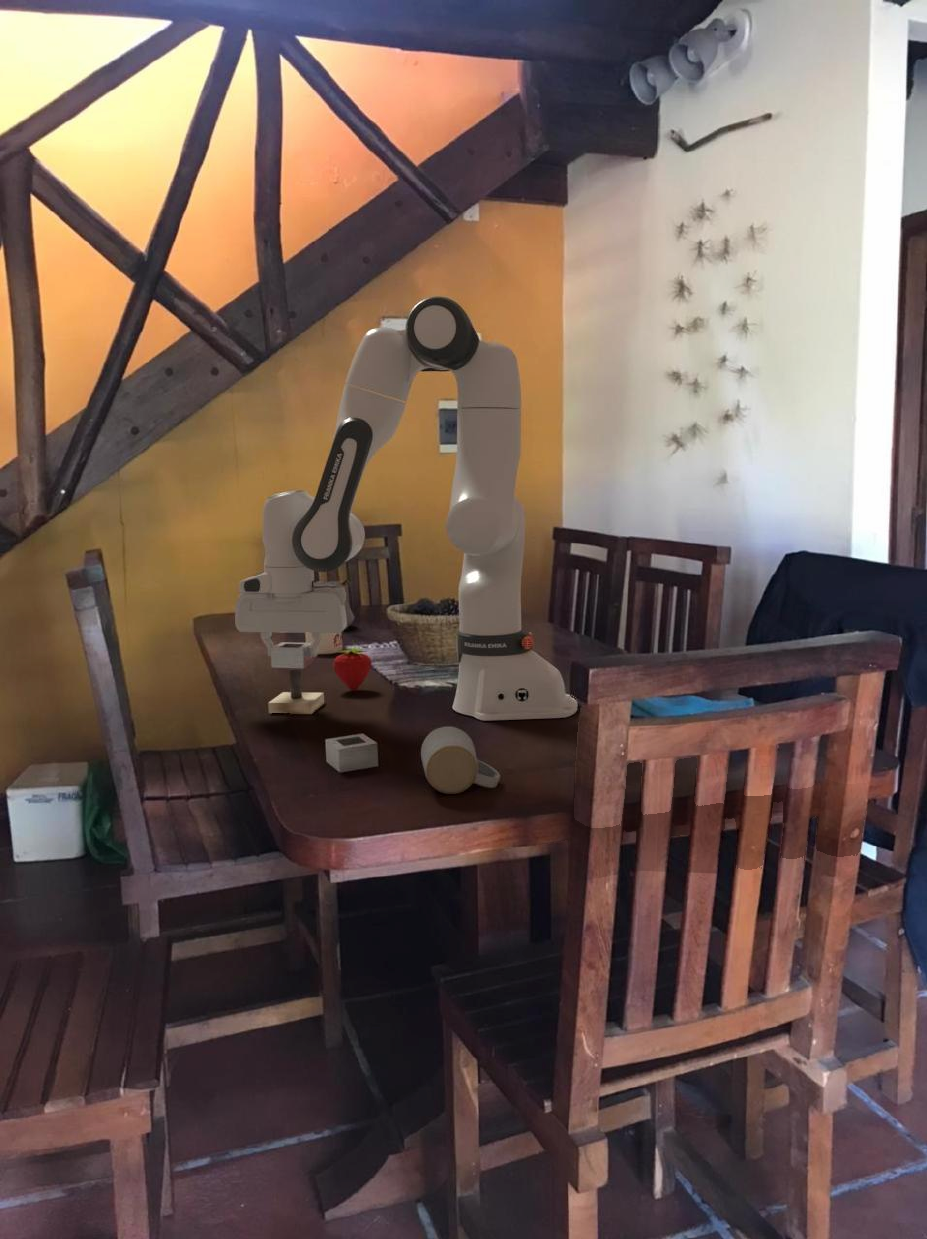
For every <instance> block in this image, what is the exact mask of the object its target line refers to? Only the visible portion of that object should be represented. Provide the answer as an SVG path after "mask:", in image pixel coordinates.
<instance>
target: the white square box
mask: <svg viewBox="0 0 927 1239" xmlns="http://www.w3.org/2000/svg"><path fill="white" fill-rule="evenodd" d="M324 740H325V741H324V742H325V756H326V758H325V759H326V763H327V764H329V766H331V767H332V768H333V769H335V770H336V771H337V772H338V773H340V774H341V773H344V772H345V773H346V772H351V771H358V770H365V769H368V768H375V767H379V756H378V755H379V754H378V753H379V752H378V750H379V749H378V743H377V741H375V740H373V739H372V738H370V737H368V735H365V734H364V733H357V734H351V735H345V736H338V737H333V738H326V739H324Z"/></svg>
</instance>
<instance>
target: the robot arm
mask: <svg viewBox="0 0 927 1239" xmlns="http://www.w3.org/2000/svg"><path fill="white" fill-rule="evenodd" d="M518 364H519V363H518V360H517V356H516V354H515V352H514V351H513V350H512V349H511V348H510V347H508V346H506V345H504V344H502V343H499V342H493V341H484V340H481V339H480V337H479V335H478V333H477V331H476V330H475V328H474V324H473V322H472V319H471V318H470V316H469V315H468V313H467V311H465V309H463V307H462V306H461V305H460V304H459V303H458V302H457V301H455V300H453V299H452V298H449V297H445V296H441V295H440V296H439V295H438V296H437V295H435V296H430V297H426V298H424V299H422V300H420V301H419V302H417V304H415V305H414V306H413V308H411V311H409V314H408V315H407V319H406V322H405V328H403V329H395V328H391V327H386V326H385V327H376V328H372V329H370V330H368V331H367V332H366V333H365V334H364V335H363V337H362V339H361V342H360V344H359V345H358V347H357V349H356V351H355V354H354V357H353V359H352V361H351V363H350V367H349V370H348V372H347V376H346V380H345V384H344V386H343V390H342V395H341V397H340V403H339V408H338V413H337V420H336V425H335V429H334V433H333V440H332V444H331V448H330V451H329V453H328V457H327V460H326V463H325V466H324V468H323V469H324V470H323V472H322V476H321V479H320V481H319V484H318V485H319V486H318V488H317V491H316V494H315V497H314V496H312V495H310V494H309V493H308V492H307V491H305V490H303V489H295V490H290V491H284V492H280V493H275V494H272V495H270V496H269V497H268V498H267V499H266V500H265V501H264V505H263V509H262V522H261V525H262V526H261V528H262V529H261V531H262V532H261V533H262V535H261V536H262V537H261V538H262V543H263V547H264V550H265V553H264V555H265V556H264V561H263V572H260V573H257V574H254V575H253V576H250V577H247V578H244V579H242V580H241V581H239V582H238V592H240V594H239V595H238V597H237V599H236V601H235V611H234V618H235V619H234V620H235V622H234V623H235V627H236V629H237V630H238V631H239V632H240V633H260V639H261V640H262V642H263V643H264V645H265V647H266V648H267V656H268V657H271V648H273V647H274V646H276V645H277V644H276V645H274V643H273V641H272V639H271V637H273V633H290V634H291V633H292V634H293V633H294V634H295V633H298V634H301V633H304V634H305V633H312V638H313V639H315V641H314V643H313V645H312V646H309V647H307V652H308V653H307V657H313V658H316V657H317V656H318V655H319V654H318V653H317V646H318V645H319V643H320V641H321V639H322V638H323V633H340V632H342V633H343V632H344V630H346V629H345V628H346V626H347V618H346V611H345V605H344V604H345V602H346V600H347V592H346V587H343V586H342V585H340V584H338V583H337V582H334V581H335V580H330V581H331V582H323V580H321V581H319V580H318V581H317V580H315V573H314V572H318V573H327V572H332V571H335V570H337V569H338V568H340V567H341V566H343V564H344V563H345V562H347V561H349V560H350V559H352V558H354V557H356V555H357V554H358V553H360V551H361V550H362V549H363V547H364V544H365V541H366V529H365V526H364V524H363V522H362V520H361V519H360V518H359V516H357V515H356V514H355V513H354V512H352V509H353V505H354V503H355V500H356V496H357V494H358V490H359V487H360V483H361V481H362V477H363V475H364V472H365V469H366V468H367V465H368V464H369V462H370V460H372V459H373V457H374V456H375V455H376V453H377V452H378V451H379V450H381V448H383V447H384V446H386V444H387V443H388V442H390V441H391V439H392V438H393V437H394V434H395V432H396V430H397V429H398V426H399V425H400V422H401V420H402V417H403V415H404V412H405V410H406V405H407V401H408V399H409V394H410V391H411V388H412V385H413V382H414V380H415V379H416V376H417V375H418V374H419V373H420V372H423V373H424V372H451V374H453V376H454V378H455V381H456V382H455V384H456V388H457V389H456V390H457V400H456V401H457V404H456V405H457V409H456V410H457V411H456V412H457V414H456V416H457V418H456V425H457V426H456V429H457V430H456V460H455V468H454V471H453V472H454V474H453V479H452V485H451V486H452V487H451V492H450V494H451V495H450V503H449V504H450V505H449V511H448V514H447V517H446V521H445V522H446V523H445V524H446V525H445V527H446V528H445V529H446V534H447V537H448V539H449V541H450V543H451V544H452V545H453V546H454V547H455V548H456V549H457V550H459V551H460V552H463V560H462V561H463V562H462V567H461V568H462V569H461V575H460V580H459V584H458V616H459V617H458V618H459V619H458V621H459V626H458V627H459V630H458V631H457V635H456V656H457V661H458V664H459V665H458V676H457V677H458V678H457V684H456V691H455V696H454V699H453V703H452V709H453V710H454V711H455V712H456V713H459V714H462V715H465V716H470V717H474V718H475V719H477V720H480V721H485V722H486V721H509V720H511V721H512V720H513V721H514V720H534V719H535V720H537V719H538V720H540V719H560V718H561V719H562V718H567V717H570V716H572V715H574V714H576V712H577V711H578V708H579V707H578V706H579V705H578V700H577V699H576V700H577V701H576V700H575V699H574V698H572V697H571V696H572V695H571V694H568V693H566V687H565V682H564V679H563V676H562V674H561V671H560V670H559V669H557V668H556V667H555V666H553V664H551V663H550V662H549V661H547V660H545V658H543V657H541V656H540V654H537V653H536V652H535V651H534V650H533V649H534V644H535V643H534V642H535V640H534V638H533V637H534V636H533V634H532V632H531V631H530V632H528V631H526V630H524V629H523V628H522V606H521V605H522V600H521V599H522V598H521V597H522V596H521V593H522V592H521V589H522V588H521V587H522V585H521V584H522V575H523V574H522V572H523V563H524V553H525V540H526V536H525V534H526V522H527V520H526V519H527V518H526V512H525V507H524V506H523V505H522V503H521V502H520V500H519V499H518V497H516V496H515V490H516V482H517V475H518V468H519V463H520V459H521V453H522V452H521V447H522V446H521V444H522V443H521V442H522V435H521V434H522V389H521V388H522V386H521V378H520V371H519V365H518ZM338 586H339V587H341V588H336V587H338ZM570 695H571V696H570ZM577 707H578V708H577Z"/></svg>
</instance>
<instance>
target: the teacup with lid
mask: <svg viewBox="0 0 927 1239" xmlns="http://www.w3.org/2000/svg"><path fill="white" fill-rule="evenodd" d="M342 634H343V631H342V632H340V633H323V638H322V639H321V641H320V643H319V645H318V646H317V653H318V654H317V655H333V654H337V653H339V652H340V651H343V635H342ZM304 635H305V643H314V641H315V639H313V638H312V633H304Z"/></svg>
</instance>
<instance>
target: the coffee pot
mask: <svg viewBox="0 0 927 1239" xmlns="http://www.w3.org/2000/svg"><path fill="white" fill-rule="evenodd" d="M322 581H323V580H322ZM331 581H332V580H324V581H323V582H331ZM333 581H334V582H337V583H338V584H340V585H342V586H343V587H344V588H346V585H347V583H349V586H348V585H347V588H349V587H350V586H351V584H352V583H351V582H350V581H349V580H347V579H344V580H333ZM336 588H341V587H339V586H338V587H336ZM344 605H345V611H346V618H347V626H346V628H345V629H344V630H346V629H348V628H349V626H350V625H352V624H353V622H354V620H355V615H354V613H353V611H352V609H351V607H350V605H349V602H348V601H347V599H346V602H345V604H344Z"/></svg>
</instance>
